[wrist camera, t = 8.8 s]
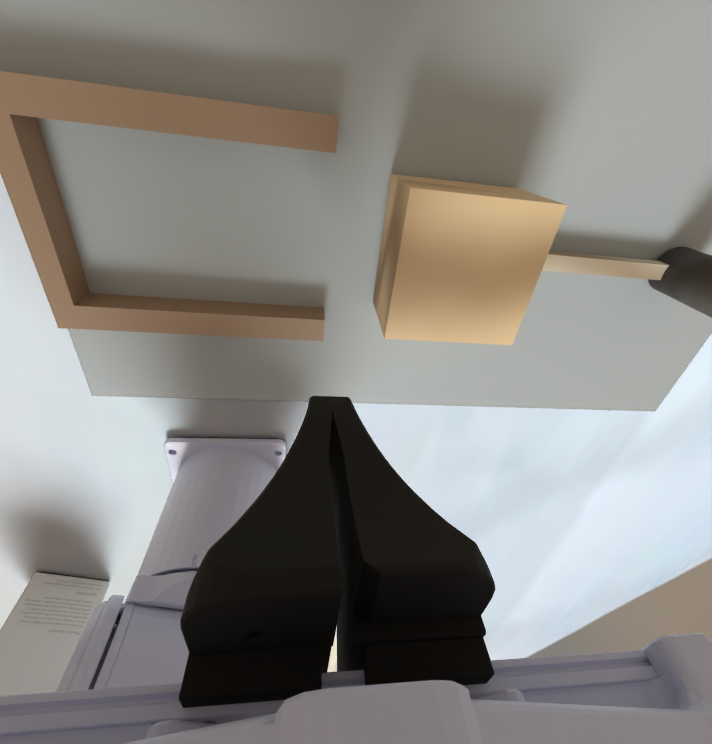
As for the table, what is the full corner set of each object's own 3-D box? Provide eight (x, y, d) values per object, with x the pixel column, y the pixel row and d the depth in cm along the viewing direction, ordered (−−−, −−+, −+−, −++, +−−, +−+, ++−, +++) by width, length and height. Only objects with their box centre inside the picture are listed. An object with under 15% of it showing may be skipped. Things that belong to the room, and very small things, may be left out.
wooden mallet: (659, 320, 22) (720, 356, 19) (372, 301, 20) (384, 338, 16) (726, 212, 19) (815, 232, 15) (390, 173, 16) (410, 187, 13)
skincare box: (33, 592, 34) (-84, 789, 24) (35, 567, 32) (-92, 772, 22) (107, 601, 36) (27, 786, 26) (114, 578, 34) (30, 770, 24)
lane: (644, 402, 27) (671, 425, 25) (100, 385, 22) (78, 412, 20) (890, 46, 16) (974, 35, 14) (-81, -149, 11) (-169, -209, 9)
